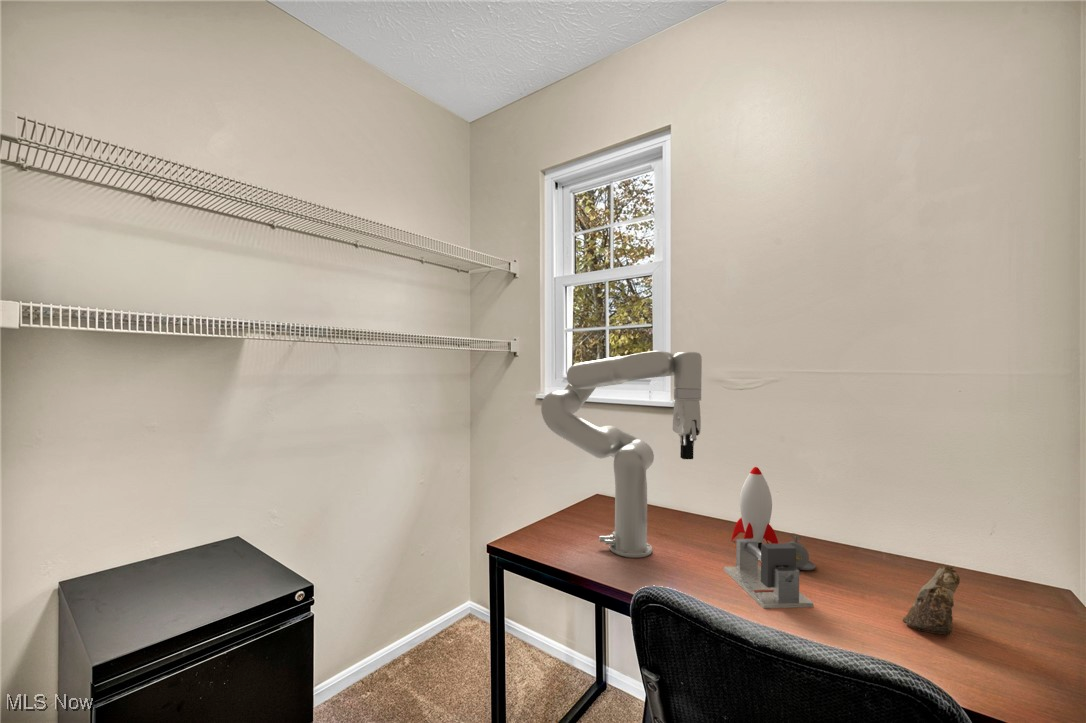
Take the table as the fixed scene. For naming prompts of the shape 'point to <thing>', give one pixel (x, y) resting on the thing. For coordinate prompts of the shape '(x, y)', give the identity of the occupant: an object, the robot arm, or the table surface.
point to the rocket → (755, 510)
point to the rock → (935, 603)
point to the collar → (775, 560)
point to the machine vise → (750, 581)
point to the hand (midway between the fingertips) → (686, 458)
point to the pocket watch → (801, 556)
